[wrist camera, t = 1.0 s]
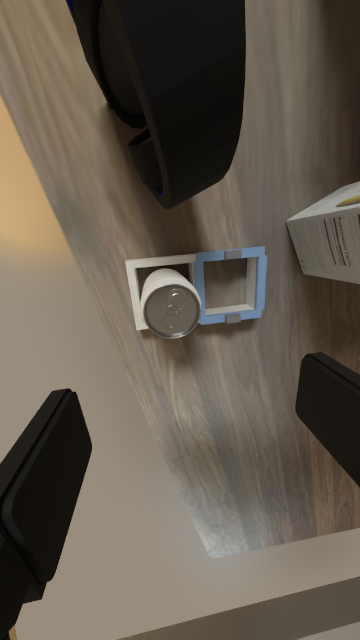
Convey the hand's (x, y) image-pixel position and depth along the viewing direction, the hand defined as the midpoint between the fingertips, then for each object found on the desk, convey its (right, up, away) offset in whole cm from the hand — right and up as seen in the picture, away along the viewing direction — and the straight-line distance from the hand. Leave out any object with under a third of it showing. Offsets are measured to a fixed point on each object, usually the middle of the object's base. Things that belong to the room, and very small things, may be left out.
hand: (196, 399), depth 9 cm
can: (-3, +8, +23) cm, 24 cm away
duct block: (+2, +8, +23) cm, 25 cm away
